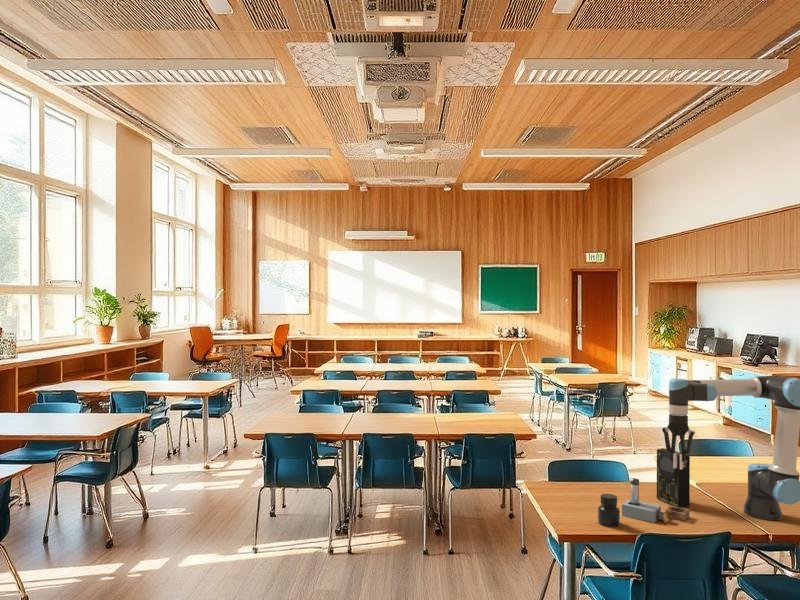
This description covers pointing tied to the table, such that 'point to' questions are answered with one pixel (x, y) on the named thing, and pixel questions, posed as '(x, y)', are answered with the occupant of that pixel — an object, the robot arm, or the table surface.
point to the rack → (678, 513)
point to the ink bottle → (609, 511)
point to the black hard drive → (673, 479)
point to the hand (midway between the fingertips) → (678, 468)
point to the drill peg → (634, 491)
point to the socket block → (641, 511)
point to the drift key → (663, 516)
